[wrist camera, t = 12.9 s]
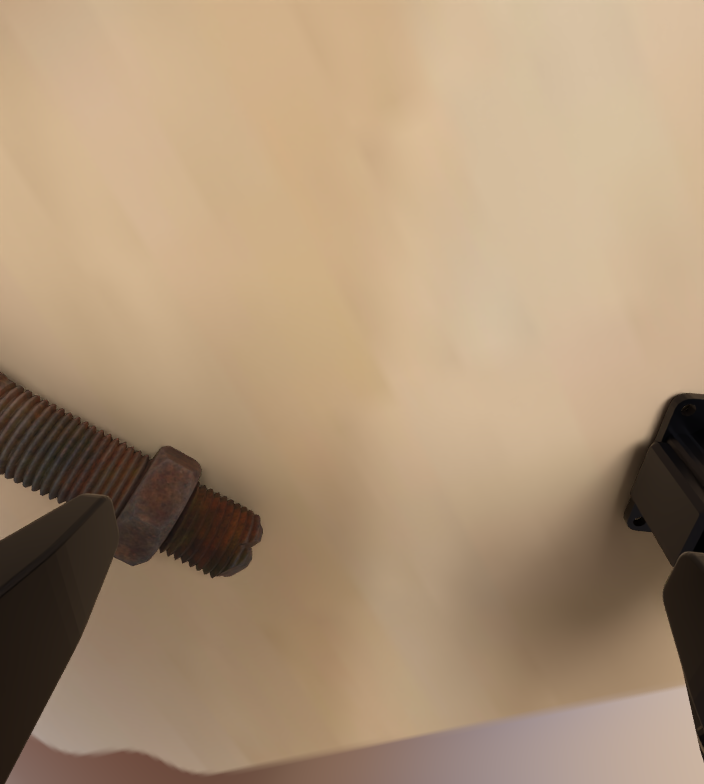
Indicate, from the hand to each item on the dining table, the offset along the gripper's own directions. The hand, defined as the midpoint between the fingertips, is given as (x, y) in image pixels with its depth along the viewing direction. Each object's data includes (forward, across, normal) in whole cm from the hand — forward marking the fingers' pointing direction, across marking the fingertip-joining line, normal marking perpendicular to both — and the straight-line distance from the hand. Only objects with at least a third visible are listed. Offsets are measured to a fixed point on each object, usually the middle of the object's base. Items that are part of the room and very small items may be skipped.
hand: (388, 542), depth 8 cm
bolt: (+12, +12, +8) cm, 19 cm away
